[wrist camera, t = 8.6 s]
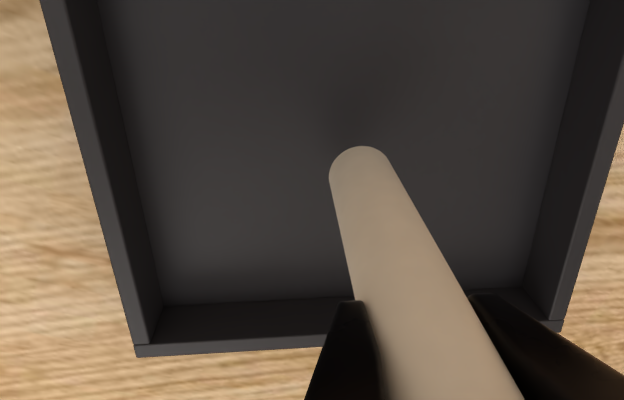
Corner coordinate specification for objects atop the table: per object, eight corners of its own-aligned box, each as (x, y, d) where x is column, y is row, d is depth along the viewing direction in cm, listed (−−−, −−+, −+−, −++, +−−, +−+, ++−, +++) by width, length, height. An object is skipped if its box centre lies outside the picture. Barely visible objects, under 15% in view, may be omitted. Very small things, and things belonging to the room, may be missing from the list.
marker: (393, 205, 13) (711, 872, 3) (325, 208, 13) (450, 901, 3) (397, 140, 12) (848, 796, 2) (324, 143, 12) (493, 833, 2)
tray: (526, 288, 18) (561, 333, 16) (155, 308, 18) (136, 358, 15) (618, -89, 12) (694, -104, 10) (65, -79, 12) (12, -92, 10)
